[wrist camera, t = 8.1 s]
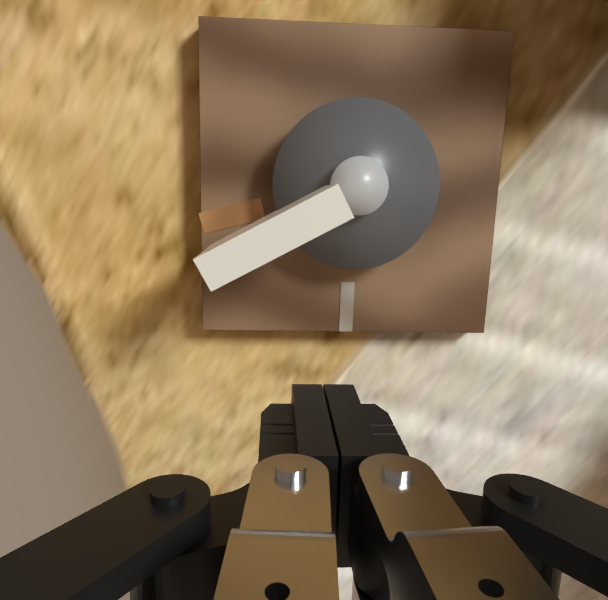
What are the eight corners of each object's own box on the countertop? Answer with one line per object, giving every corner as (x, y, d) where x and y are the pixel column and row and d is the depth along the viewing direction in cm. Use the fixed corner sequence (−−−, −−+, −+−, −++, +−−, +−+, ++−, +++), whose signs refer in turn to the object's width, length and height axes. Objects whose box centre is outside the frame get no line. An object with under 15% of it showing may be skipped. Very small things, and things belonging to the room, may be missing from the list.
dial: (391, 71, 28) (430, 30, 21) (457, 221, 29) (512, 230, 23) (178, 183, 28) (148, 180, 21) (256, 324, 30) (251, 363, 23)
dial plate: (199, 25, 28) (195, 15, 27) (502, 39, 29) (514, 30, 28) (203, 323, 32) (200, 329, 30) (474, 326, 33) (483, 332, 31)
